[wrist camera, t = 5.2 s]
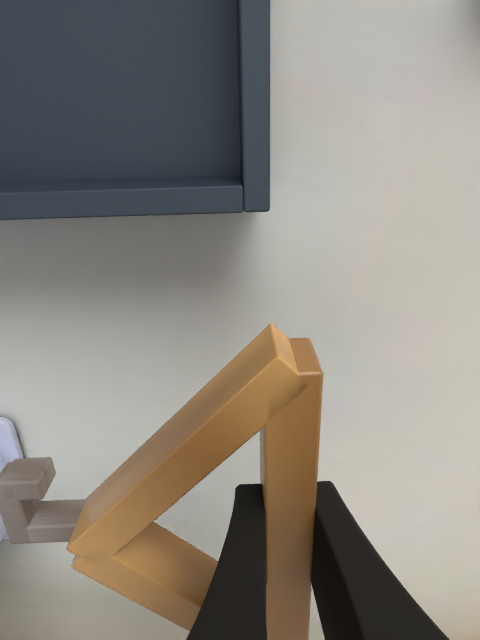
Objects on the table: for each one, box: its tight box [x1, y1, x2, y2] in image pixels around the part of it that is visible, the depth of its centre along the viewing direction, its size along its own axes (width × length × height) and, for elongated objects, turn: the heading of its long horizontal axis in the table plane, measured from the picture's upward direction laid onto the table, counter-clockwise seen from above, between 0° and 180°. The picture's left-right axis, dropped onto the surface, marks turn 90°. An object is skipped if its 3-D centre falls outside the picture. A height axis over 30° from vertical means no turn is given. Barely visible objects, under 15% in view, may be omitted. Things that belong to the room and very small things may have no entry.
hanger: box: [0, 324, 323, 640], centre depth 11 cm, size 8×11×2 cm
